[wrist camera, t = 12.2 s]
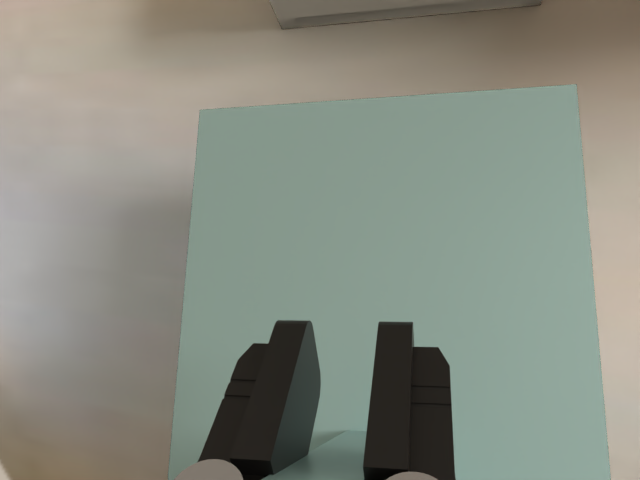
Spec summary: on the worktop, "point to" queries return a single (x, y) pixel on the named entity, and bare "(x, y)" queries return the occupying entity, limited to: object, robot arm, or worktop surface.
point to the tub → (376, 9)
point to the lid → (402, 270)
